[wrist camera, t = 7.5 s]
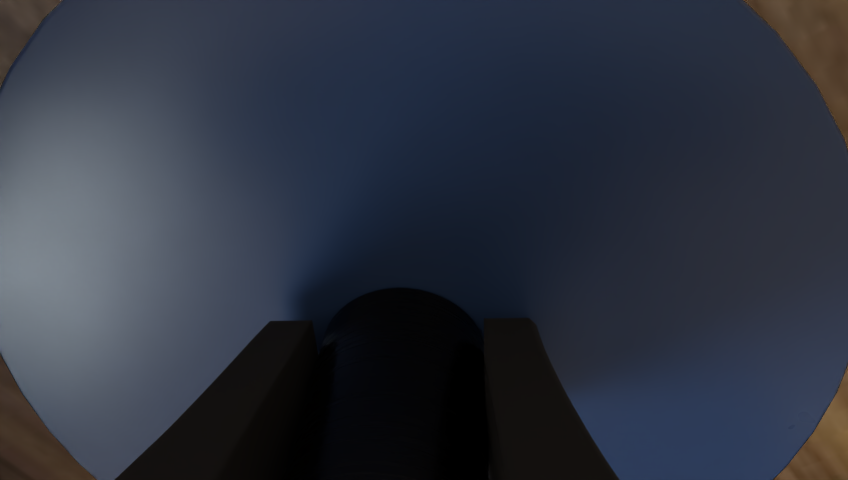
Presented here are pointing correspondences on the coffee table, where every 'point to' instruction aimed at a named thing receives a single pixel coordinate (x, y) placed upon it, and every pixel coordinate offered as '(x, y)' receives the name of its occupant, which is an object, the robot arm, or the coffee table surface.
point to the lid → (426, 224)
